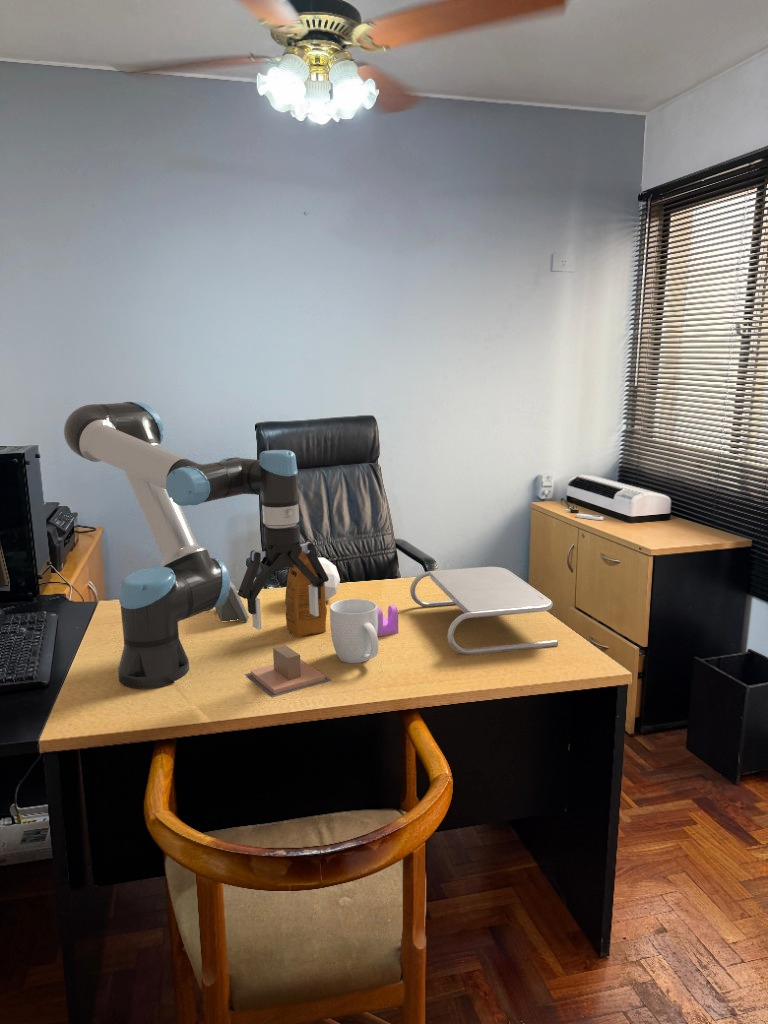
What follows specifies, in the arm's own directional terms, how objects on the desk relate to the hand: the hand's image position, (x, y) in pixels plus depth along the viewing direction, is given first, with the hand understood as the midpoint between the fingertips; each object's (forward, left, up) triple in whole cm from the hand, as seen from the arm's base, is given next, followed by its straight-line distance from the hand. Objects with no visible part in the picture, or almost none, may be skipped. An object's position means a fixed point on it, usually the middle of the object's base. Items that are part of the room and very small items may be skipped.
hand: (286, 621), depth 155 cm
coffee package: (+18, +25, -14) cm, 34 cm away
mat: (0, 0, -14) cm, 14 cm away
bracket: (+35, +16, -14) cm, 41 cm away
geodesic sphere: (+32, +44, -14) cm, 56 cm away
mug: (+18, 0, -14) cm, 23 cm away
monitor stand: (+56, +1, -14) cm, 58 cm away
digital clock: (+7, +47, -14) cm, 50 cm away
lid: (0, 0, -13) cm, 13 cm away
